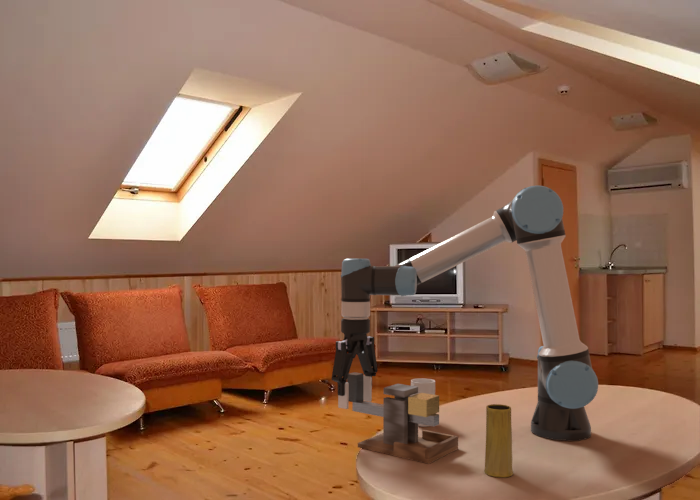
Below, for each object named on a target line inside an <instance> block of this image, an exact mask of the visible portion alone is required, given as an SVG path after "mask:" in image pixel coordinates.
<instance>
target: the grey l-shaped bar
mask: <svg viewBox="0 0 700 500" xmlns="http://www.w3.org/2000/svg"><path fill="white" fill-rule="evenodd" d="M363 376H364V373H361V372H356V371H355V372H349V374H348V377H347V381H346V382H347V383H349V402H351V403H352V410H351V411H352V412H356V413H362V414H367V415H371V416H377V417H380V418H381V417H382V418H383V403H377V402H372V401H371V402H368V401H363ZM408 422H413V423H418V424H423V425H429V426H428V427H436V426H438V425H440V414H439V413H436V414H433V415H431V416H428V417H423V416H417V415H412V414H408Z"/></svg>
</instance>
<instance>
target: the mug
mask: <svg viewBox="0 0 700 500" xmlns="http://www.w3.org/2000/svg"><path fill="white" fill-rule="evenodd" d="M410 386H416V387H418V393H416V394H419V393H426V394H433V395H436V380H435V379H432V378H412V379H410ZM416 394H413V395H416ZM413 395H410V396H413ZM418 427H420V428H421V427H423V428H424V427H430V426H429V425H423V424H418Z"/></svg>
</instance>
